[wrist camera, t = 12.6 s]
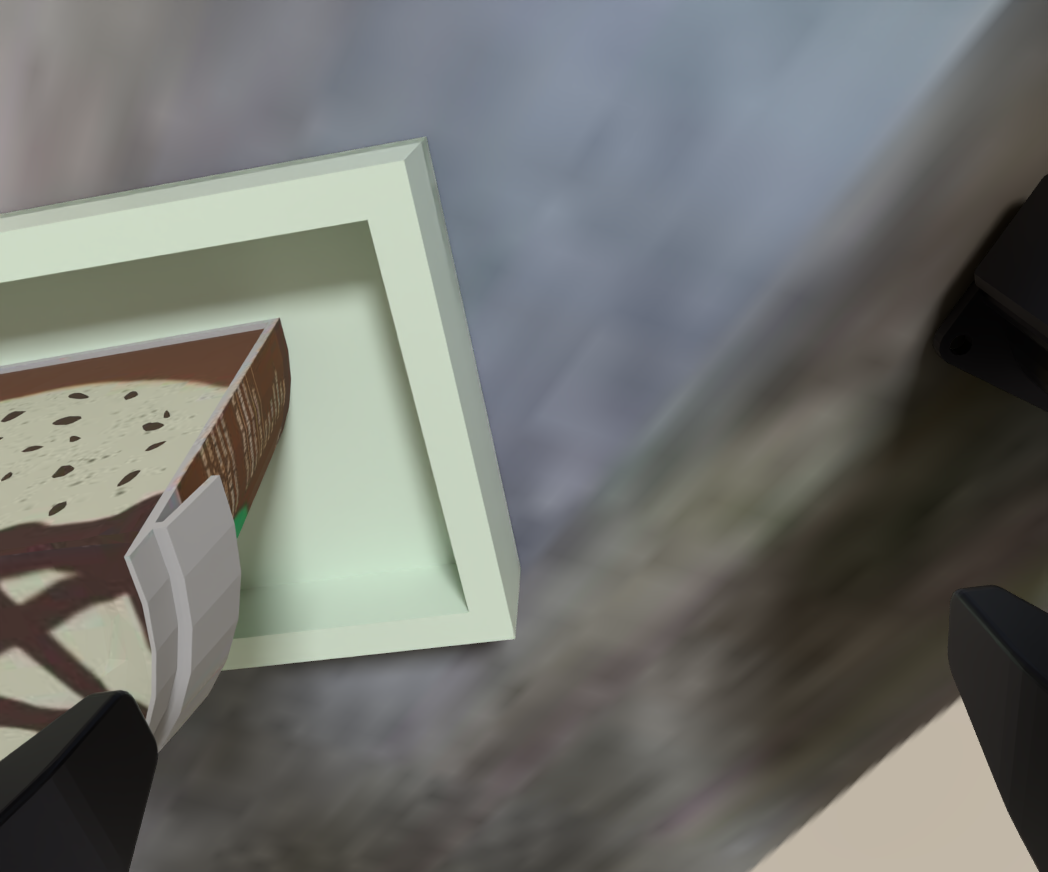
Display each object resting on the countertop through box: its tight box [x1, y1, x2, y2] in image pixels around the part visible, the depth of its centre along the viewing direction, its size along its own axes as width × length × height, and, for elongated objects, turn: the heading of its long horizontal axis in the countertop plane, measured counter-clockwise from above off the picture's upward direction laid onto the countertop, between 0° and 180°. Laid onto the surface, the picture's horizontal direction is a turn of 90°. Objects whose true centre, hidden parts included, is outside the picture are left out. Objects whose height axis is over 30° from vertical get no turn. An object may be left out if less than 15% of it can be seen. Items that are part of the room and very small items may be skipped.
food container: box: [0, 317, 291, 761], centre depth 18 cm, size 12×6×10 cm, turn 101°
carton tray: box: [0, 137, 521, 671], centre depth 22 cm, size 18×12×3 cm, turn 100°
